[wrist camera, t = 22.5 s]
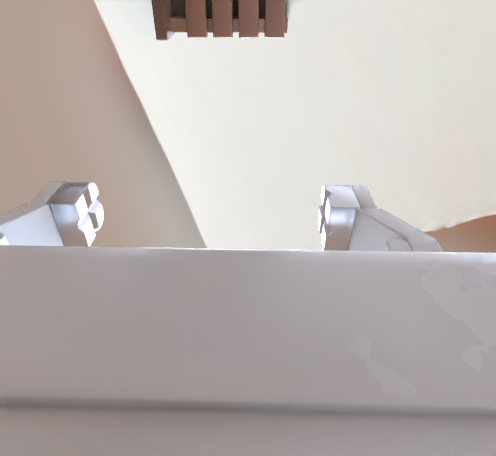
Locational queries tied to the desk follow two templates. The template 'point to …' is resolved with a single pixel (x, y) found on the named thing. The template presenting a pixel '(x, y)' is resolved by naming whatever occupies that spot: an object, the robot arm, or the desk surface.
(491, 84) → the desk surface
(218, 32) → the brown slatted wooden rack
